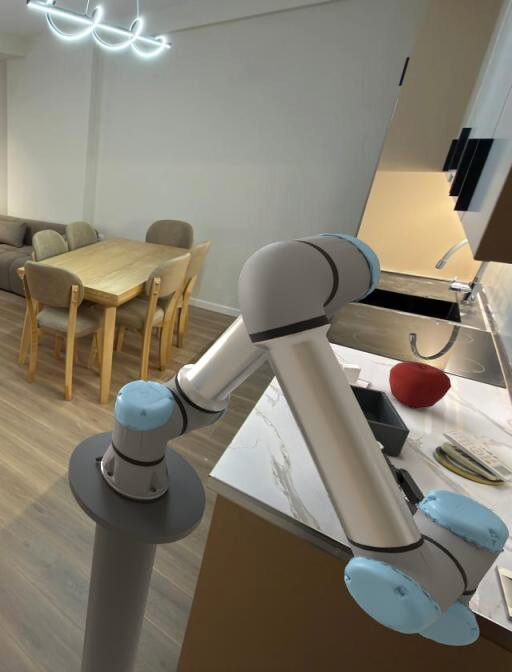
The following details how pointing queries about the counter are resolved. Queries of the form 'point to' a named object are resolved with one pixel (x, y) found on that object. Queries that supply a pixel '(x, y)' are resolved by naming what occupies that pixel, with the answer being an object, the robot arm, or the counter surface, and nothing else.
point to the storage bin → (382, 419)
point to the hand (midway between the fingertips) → (358, 441)
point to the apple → (418, 384)
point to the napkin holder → (353, 374)
